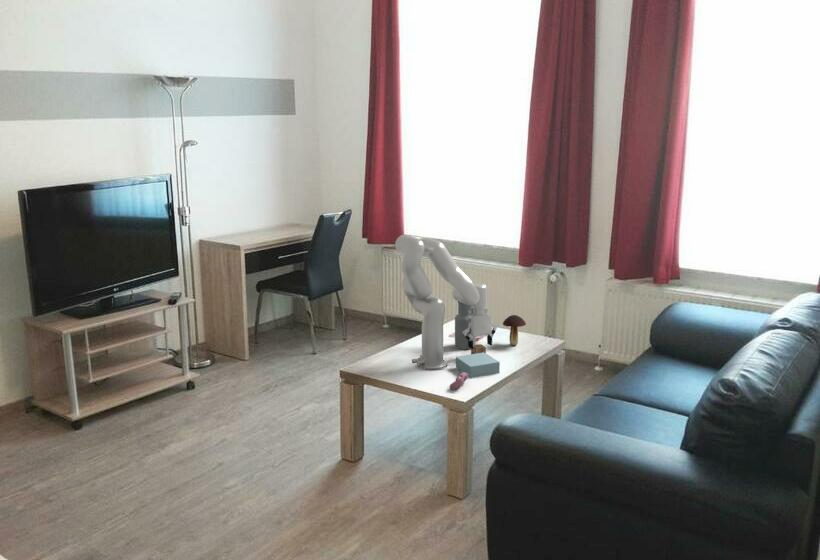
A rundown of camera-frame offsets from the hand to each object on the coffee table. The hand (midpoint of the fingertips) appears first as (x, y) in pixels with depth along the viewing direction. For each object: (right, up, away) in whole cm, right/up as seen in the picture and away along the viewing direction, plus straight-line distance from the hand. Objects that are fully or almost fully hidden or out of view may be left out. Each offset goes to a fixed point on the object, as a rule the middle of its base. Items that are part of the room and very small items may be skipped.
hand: (480, 346), depth 339 cm
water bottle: (-6, -2, +14) cm, 16 cm away
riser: (-3, -9, -17) cm, 20 cm away
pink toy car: (-12, -14, -35) cm, 39 cm away
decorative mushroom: (+18, -1, +16) cm, 24 cm away
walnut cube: (-1, -5, +1) cm, 5 cm away
